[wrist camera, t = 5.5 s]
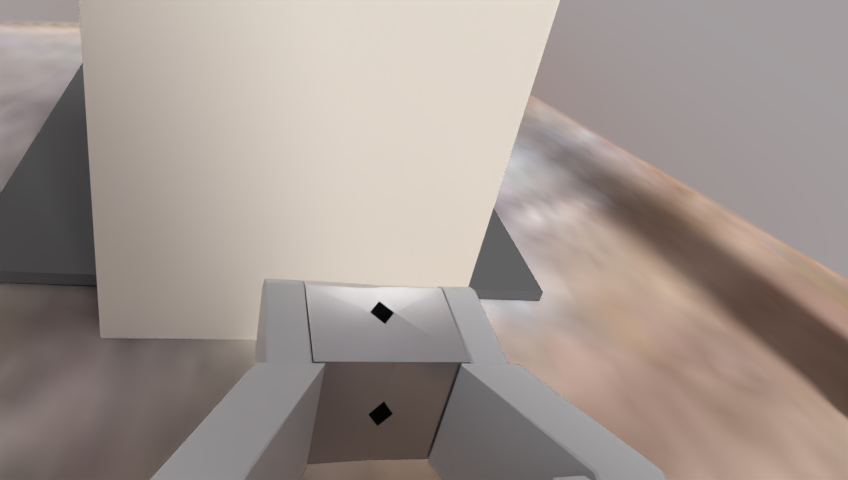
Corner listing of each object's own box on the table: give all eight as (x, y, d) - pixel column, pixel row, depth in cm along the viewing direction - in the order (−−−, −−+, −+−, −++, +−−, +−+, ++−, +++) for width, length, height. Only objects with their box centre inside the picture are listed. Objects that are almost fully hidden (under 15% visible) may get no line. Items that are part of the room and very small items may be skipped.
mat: (-45, 280, 18) (-47, 269, 17) (86, 65, 32) (85, 57, 31) (539, 300, 23) (542, 291, 23) (430, 109, 37) (431, 103, 37)
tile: (100, 338, 17) (56, -342, 10) (110, 301, 18) (78, -326, 11) (450, 342, 20) (615, -175, 13) (439, 310, 21) (584, -178, 14)
